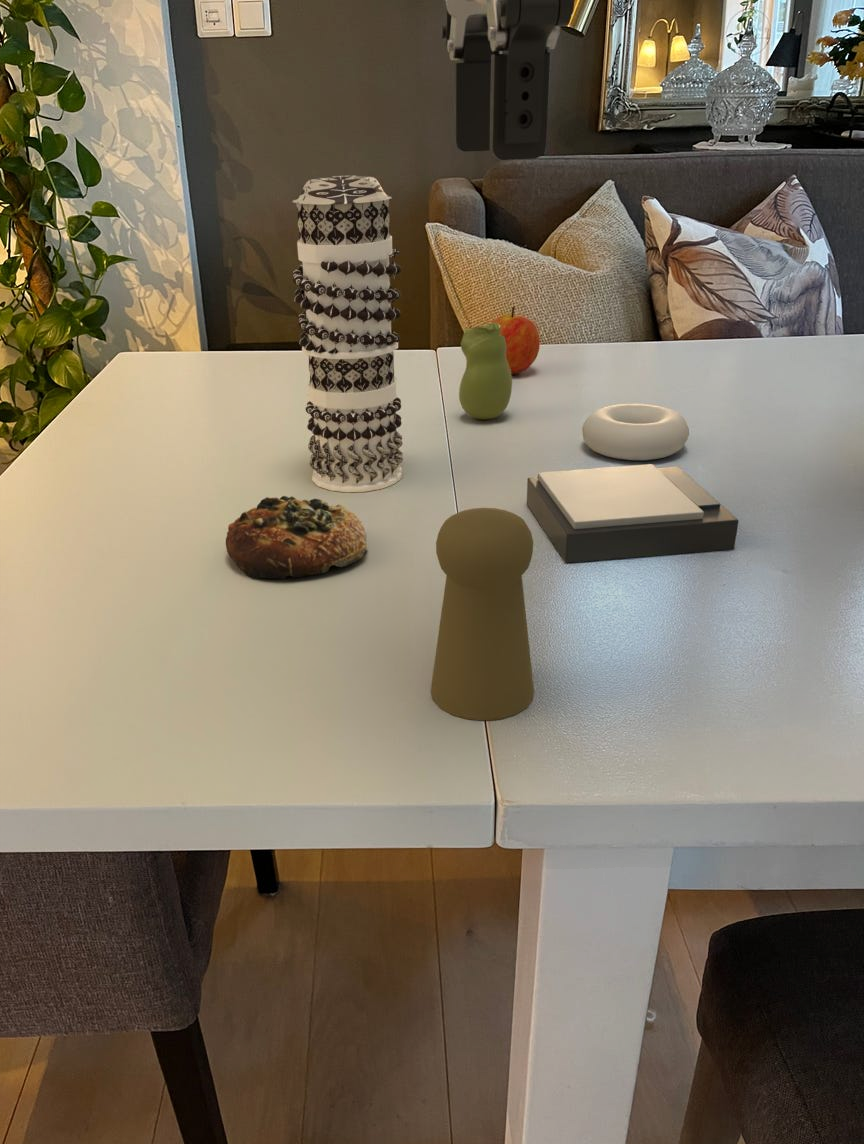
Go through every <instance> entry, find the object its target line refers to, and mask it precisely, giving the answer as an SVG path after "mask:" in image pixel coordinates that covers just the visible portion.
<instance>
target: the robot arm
mask: <svg viewBox="0 0 864 1144" xmlns="http://www.w3.org/2000/svg"><path fill="white" fill-rule="evenodd" d="M574 11H575V0H442V26H441V27H440V37H441V38H440V39H443V40H442V42H443V47H444V48H446V50H447V52H448V54H449V59H450V61H458V62H455V63H453V144H454V146H455V148H456V149H457V150H458V151H461V152H468V153H469V152H486V151H487V152H488V151H489V152H490V154H491V155H492V156H493V158H495V159H498V160H501V161H512V160H514V161H517V160H534V159H535V160H536V159H538V158H540V157H541V156H543V154H544V152H545V151H546V148H547V133H548V109H549V89H550V88H549V87H550V63H551V52H550V51H547V52H546V50H554V49H556V46H557V43H558V39H559V37H560V31H561V30H560V29H561V27H568V26H569V25H570V22H571V18H572V15H573V14H574Z"/></svg>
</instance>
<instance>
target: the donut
mask: <svg viewBox="0 0 864 1144" xmlns="http://www.w3.org/2000/svg"><path fill="white" fill-rule="evenodd" d="M581 430H582V438H583V441H584V444H586V445H587V446H588V447H589V448H590V449H591V451H593V452H595V453H598V454H600V455H603V456H604V457H608V458H613V459H616V460H624V461H651V460H652V461H653V460H659V459H664V458H667V457H670V456H672V455H674V454H677V453H678V452H679V451H680V450H682V449H683V448H684V446H685V444H686V443H687V442H688V439H689V436H690V429H689V425H688V424H687V420H686V419H685V418H684V417H683V416H682V415H681V414H680V413H678V412H676V411H675V410H672V409H669V408H667V407H665V406H664V407H663V406H659V405H653V404H645V403H621V404H612V405H608V406H604V407H601V408H599V409H597V410H594V411H593V412H591V413H590V414H589V415H588V417H586V418H585V420H584V422H583V424H582V428H581Z"/></svg>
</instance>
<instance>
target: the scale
mask: <svg viewBox="0 0 864 1144" xmlns="http://www.w3.org/2000/svg"><path fill="white" fill-rule="evenodd" d="M526 485H527V486H526V487H527V488H526V506H527V507H528V509H529V510H530V511H531V513H532V514H533V516H534V518H535V519H536V520H537V522H538V524H539V525H540V527H541V529H542V530H543V532H545V534H546V536H547V537H548V539H549V541H550V542H551V543H552V545H553V546H554V548H555V549H556V551H557V552H558V554H559V556H560V557H561V558H562V560H563V562H564V563H565V564H571V563H583V562H584V563H586V562H596V561H608V560H619V559H632V558H643V557H656V556H657V557H658V556H668V555H669V556H670V555H679V554H681V555H682V554H693V553H704V552H717V551H718V552H719V551H728V550H734V549H735V548H736V547H735V546H736V541H737V534H738V527H739V522H740V521H739V519H738V518H737V516H735V515H734V514H733V513H732V512H730V511H729V509H727V508H726V507H725V506H724V505H722V504H721V502H719V501H718V500H717V499H715V497H713V496H712V495H711V494H710V493H709V492H707V490H705V489H704V488H703V487H702V486H701V485H699V484H698V483H697V482H696V481H695V480H694V479H693V478H691V476H689V475H688V473H686V472H685V471H684V470H683V469H682V468H680V467H679V466H665V467H656V466H655V465H654V464H653V463H648V464H633V465H622V466H621V465H620V466H609V467H607V466H606V467H597V468H596V467H595V468H582V469H581V468H580V469H569V470H567V469H566V470H555V471H543V472H542V471H541V472H537V476H534V477H527V484H526Z"/></svg>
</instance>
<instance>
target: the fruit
mask: <svg viewBox="0 0 864 1144" xmlns="http://www.w3.org/2000/svg"><path fill="white" fill-rule="evenodd" d="M515 309H516V307H515V306H511V314H502V315H500V316H498V317H496V318H495V319H493V320H492V321H491V322H490V323H498V324H499V325H500V332H501V336H504V338H505V341H506V359H507V362H508V365H509V367H510V370H511V374H514V375H517V374H520V373H522V372H524V371H526V370H527V369H529V368H530V367H531V366H532V365H533V364H534V363H535V361H536V360H537V357H538V355H539V351H540V347H541V338H540V334H539V331H538V328H537V326H536V324H535V323H534V321H532V320H531V319H530V318H528V317H526V316H523V315H519V314H515ZM519 372H520V373H519ZM516 373H517V374H516Z"/></svg>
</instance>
